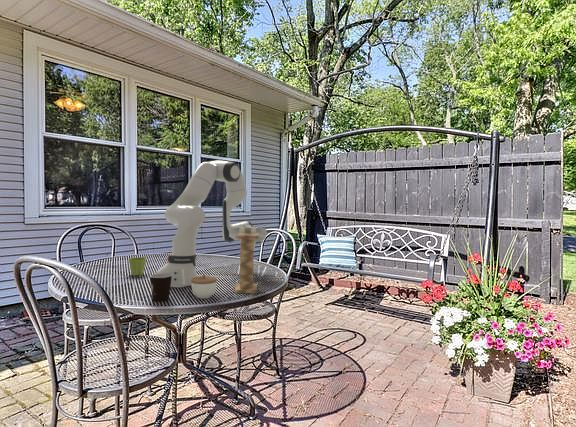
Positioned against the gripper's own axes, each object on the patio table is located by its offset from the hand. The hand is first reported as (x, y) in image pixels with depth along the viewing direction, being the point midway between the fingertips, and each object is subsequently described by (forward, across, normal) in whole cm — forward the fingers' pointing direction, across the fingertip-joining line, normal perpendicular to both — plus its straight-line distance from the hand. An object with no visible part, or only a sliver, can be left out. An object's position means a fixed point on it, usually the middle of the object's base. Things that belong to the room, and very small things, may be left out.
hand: (247, 226), depth 192 cm
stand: (+6, 0, +36) cm, 36 cm away
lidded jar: (+16, -18, +42) cm, 48 cm away
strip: (+5, 0, +5) cm, 7 cm away
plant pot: (-22, -59, +19) cm, 66 cm away
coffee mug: (+19, -35, +43) cm, 59 cm away
